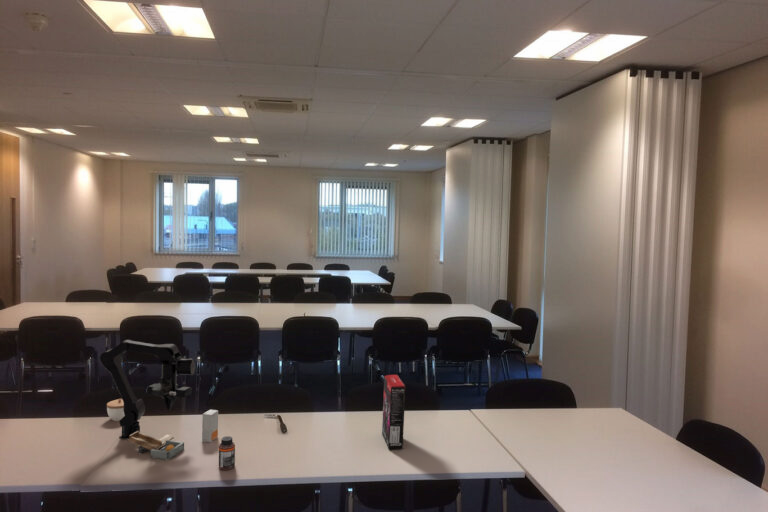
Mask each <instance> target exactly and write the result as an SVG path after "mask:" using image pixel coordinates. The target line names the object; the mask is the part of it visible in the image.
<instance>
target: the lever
mask: <svg viewBox="0 0 768 512" xmlns="http://www.w3.org/2000/svg"><path fill="white" fill-rule="evenodd" d="M173 439H175V437H174V436H173V435H171V434H165V435H164V436H163V437H161V438H159V439H158V438H154V437H152V436H150V435H147V434H144V433H143V432H141V431H140V432H139V431H136V432H135V433H133V434H131V435H129V439H127V441H128V442H130V443H133V444H135V445H137V446H138V447H140V446H142V447H144V448H147V449H148V450H149V451H151V450H152V449H154V450H159V448H160V447H162V446H164V445H166V440H170V441H173Z"/></svg>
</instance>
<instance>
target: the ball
mask: <svg viewBox="0 0 768 512" xmlns="http://www.w3.org/2000/svg"><path fill="white" fill-rule="evenodd" d="M173 448H174V446H173V445H168V446H167V447H166V451H170V450H171V449H173Z"/></svg>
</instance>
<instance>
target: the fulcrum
mask: <svg viewBox="0 0 768 512" xmlns="http://www.w3.org/2000/svg"><path fill="white" fill-rule="evenodd" d="M137 450H138V451H137V452H138V454H141V455H142V454H143V453H145V452H147V451H148V450H149V449H147V448H144V447H142V446H138V448H137Z"/></svg>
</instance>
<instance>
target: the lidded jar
mask: <svg viewBox="0 0 768 512" xmlns="http://www.w3.org/2000/svg"><path fill="white" fill-rule="evenodd" d="M106 412H107V415H108V417H109V418H110V419H111V420H112V421H113V422H119V421H120V420H121V419H122V418H123V417H124V416H125V414H124V402H123V400H122V398H118V399H114V400H111V401H109V402H107V403H106Z"/></svg>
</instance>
